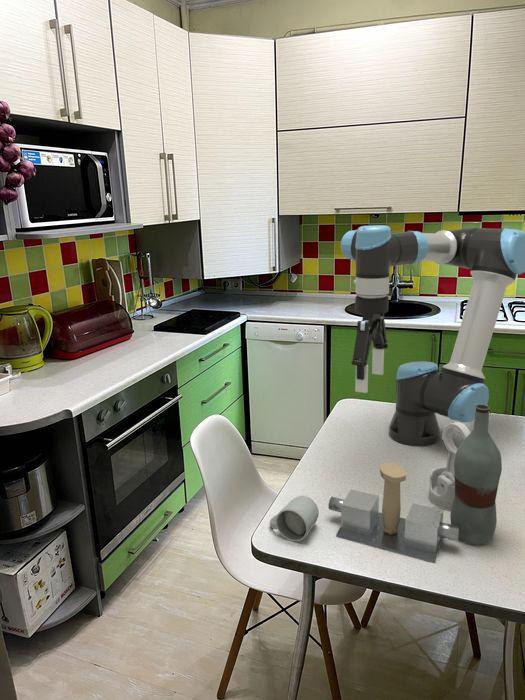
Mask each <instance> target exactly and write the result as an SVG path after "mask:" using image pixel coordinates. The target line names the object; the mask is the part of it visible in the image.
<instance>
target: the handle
mask: <svg viewBox="0 0 525 700" xmlns="http://www.w3.org/2000/svg"><path fill="white" fill-rule="evenodd" d="M379 474H380V477H381V479H382V480H384V484H383V495H382V503H381V504H382V505H381V513H382V520H383V525H384V526H383V530H384V532H386V533H388V534H390V535H392V534H396V533H397V531H398V526H399V521H400V518H401V510H402V509H401V505H402V503H401V483H402V482H404V481H406V479H407V472H406V470H405V468H403V466H401V465H399V464H397V463H395V462H384V463H381V464H379Z"/></svg>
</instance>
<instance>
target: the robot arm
mask: <svg viewBox="0 0 525 700" xmlns="http://www.w3.org/2000/svg"><path fill="white" fill-rule="evenodd" d="M340 241H341V242H340V252H341V253H342V255H343V257H345V258H346V259H348V260H353V261H355V279H354V280H353V285H355V294H357V295H355V298H354V302H355V303H354V309H355V310H354V311H355V312H356V313H358V314H361V315H362V319H361V320H358V321H357V327H356V337H355V341H354V348H353V355H352V360H351V365H353V366H355V377H354V379H355V382H354V383H355V385H354V386H355V387H354V388H355V389H354V392H357V393H364V394H367V393H368V392H369V391H368V390H369V389H368V388H369V364H368V359H369V354H370V350H371V347H372V345H373V348H372V353H371V354H372V357H371V360H372V361H371V362H372V363H371V374H372V375H379V376H383V375H384V367H385V349H386V350H387V349H388V348H389V347H388V346H389V343H388V339H387V333H386V322H385V313H388V311H389V299H390V297H389V296H388V294H389V293H390V269H391V267H397V266H404V265H413V264H416V263H420V262H421V261H423V262H424V261H425V262H426V261H427V262H428V261H429V262H434V263H436V264H437V265H448V266H453V267H457V268H463V269H467V270H468V269H470V275H471V277H472V278H473V283H472V286H471V290H470V292H469V296H468V298H467V299H468V300H467V303H466V306H465V309H464V310H465V311H464V313H463V316H462V320H461V323H460V326H459V330H458V333H457V336H456V340H455V343H454V346H453V351H452V353H451V357H450V361H449V362H448V363H446V364H444V365H443V366H442V367H441V370H440V371H439V366H438V364H437V363H435V362H432V361H410V362H407V363H403V364H401V365H400V366H398V367H397V371H396V372H397V373H396V378H395V379H396V380H395V381H396V384H395V385H396V386H395V410H394V414H393V416H392V418H391V421H390V424H389V425H388V435H389V436H390V438H391V439H393V440H394V441H396V442H397V443H400V444H403V445H407V446H414V447H415V446H418V447H421V446H430V445H433V444H435V443H437V442H438V441H439V440H440V438H441V430H440V426H439V423H438V419H437V416H436V414H437V415H441V416H442V417H446V418H449V420H452V421H456V422H460V423H471V422H473V421H475V411H476V408H475V406H476V405H479V404H483V405H487V406H488V403H489V398H490V394H489V392H490V391H489V388H488V386H487V385H486V384H485V380H486V377H485V376H484V373H483V371H482V369H483V367H484V363H485V360H486V356H487V354H488V350H489V346H490V345H491V344H490V343H491V340H492V336H493V333H494V329H495V327H496V324H497V320H498V317H499V313H500V310H501V306H502V303H503V299H504V296H505V293H506V291H507V288H508V287H509V286H510V285H512V284H513V283H515V281H516V277H517V275H521V274H524V273H525V231H523V230H521V229H514V228H508V227H504V228H487V227H486V228H485V227H482V228H481V227H470V228H469V227H468V228H467V227H466V228H460V229H458V228H457V229H449V230H447V229H443V230H437V232H435V233H434V232H433V233H430V232H428V233H427V232H421V231H418V230H416V231H415V230H407V231H391V227H390V226H388V225H381V224H380V225H361V226H359V227H358V228H357V229H355V230H348V231H347V232H346V233H345V234H343V237H342V238H341V240H340Z"/></svg>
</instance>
